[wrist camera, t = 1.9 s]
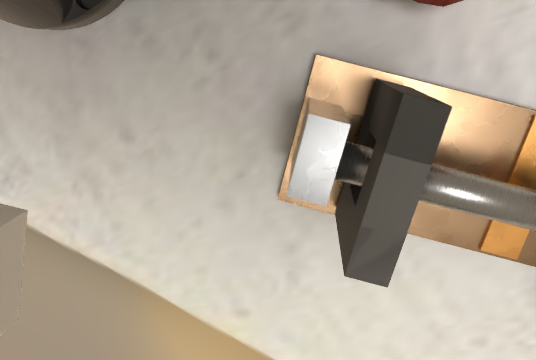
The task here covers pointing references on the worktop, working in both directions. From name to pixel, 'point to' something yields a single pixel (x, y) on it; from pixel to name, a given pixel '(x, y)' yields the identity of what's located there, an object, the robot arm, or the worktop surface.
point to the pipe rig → (442, 169)
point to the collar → (388, 179)
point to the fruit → (438, 2)
